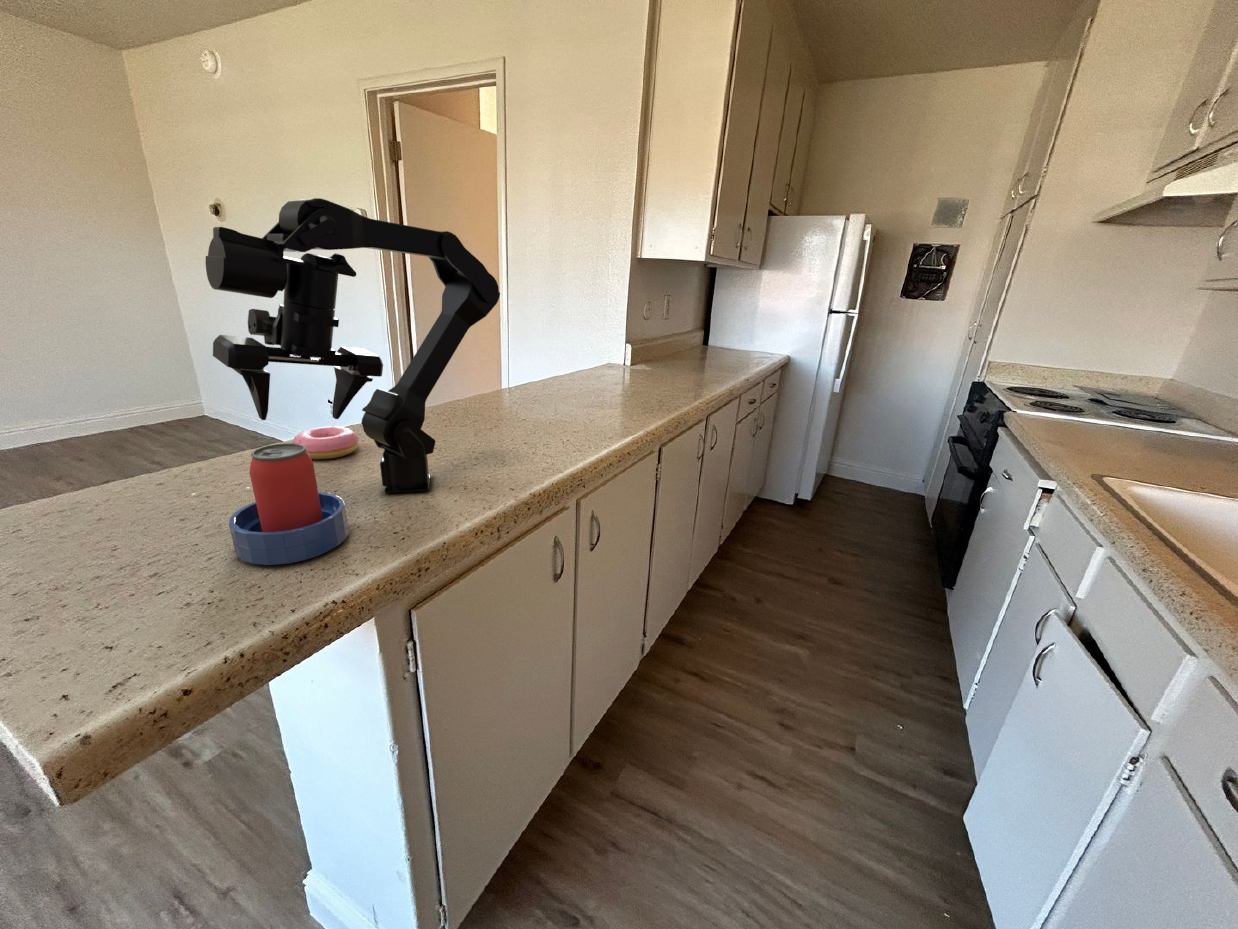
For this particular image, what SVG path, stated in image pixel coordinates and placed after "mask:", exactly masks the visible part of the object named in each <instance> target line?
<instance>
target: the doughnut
mask: <svg viewBox="0 0 1238 929" xmlns="http://www.w3.org/2000/svg"><path fill="white" fill-rule="evenodd" d="M359 442H360V438H359V437H358V434H357V433H356V432H355V430H353V429H350V428H349V427H344V426H343V427H342V426H334V425H332V426H320V427H314V428H309V429H306V430H302V431H301V432H299V433H298V434H297V435H296V436H294V438H293V441H292V443H293V444H300V445H303V446H304V447H306V451H307V453H308V454H309V456H310V457H311V459H312V460H330V459H337V458H340V457H344V456H346V455H347V456H348V455H349V454H351V453H353V452H354V451H355V450H356V449H357V448H358V447H359Z"/></svg>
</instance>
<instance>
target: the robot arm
mask: <svg viewBox="0 0 1238 929" xmlns="http://www.w3.org/2000/svg"><path fill="white" fill-rule="evenodd" d="M352 249H353V250H354V249H370V250H377V251H385V252H392V253H398V254H406V255H414V256H422V257H427V258H428V259H429V260H430V261H431V262H432V265H433V267H434V270H435V273H436V275H437V278H438V280H439V281H440V282H441V283H442V284H443V286H444V289H443V292H442V294H441V311H440V314H439V315H438V317H437V318H436V320H435V322H434V323H433V325H432V327H431V328H430V329H429V332H427V335H426V336H425V337H424V340H423V341H422V343H421V345H420V346H419V348H418V349H417V350H416V352H415V354H414V356H413V357H412V359H411V360H410V362H409V363H408V366H406V368H405V370H404V371H403V373H402V375H401V377H400V378H399V380H398V382H397V383H396V384H395V385H394V386H393V387H391V388H390V389H389V390H385V389H381V388H376V389H375V390H374V392H373V393H372V395H371V398H370V400H369V402H368V403H367V404H366V405H365V406H364V407H363V408H362V409H361V410H362V412H364V413H363V416H362V418H361V426H362V429H363V432H364V433H365V435H366V436H367V437H368V438H369V439H371V440H373V442H374V444H375V445H376V447H377V448H380V449H382V450H383V452H382V458H381V460H380V462H379V466H380V475H381V476H380V477H381V483H382V486H383V487H385V488H384V494H388V495H390V494H405V493H406V494H408V493H421V492H422V493H425V492H428V491H429V489H430V483H431V477H432V476H431V474H430V473H429V461H428V455H430V454H433V453H434V451H435V450H434V449H435V446H436V439H435V438H434V437H432V436H431V435H429V434H428V433H426V432H425V431H424V430H422V427H423V425H424V423H425V420H426V419H425V418H426V402H427V399H428V398H429V396H430V394H431V393H432V391H433V390H434V388H435V386H436V384H438V383H437V382H438V381H439V379H440V378H441V376H442V374H443V372H444V371H445V370H446V367H447V366H448V364H449V362H450V361H451V359H452V357H453V356H454V354H455V353H456V351H457V349H458V348H459V346H460V344H461V342H462V341H463V339H464V337H465V336H466V334H467V332H468V331H469V330H470V328H471V327H473V326H475V325H476V324H477V323H479V322H480V321H481V320H483V319H485V318H486V317H487V316H488V315H489V314H490V312H492V310H493V309H494V308H495V306H496V305H497V304H498V302H499V300H500V296H501V292H500V288H499V284H498V280H496V278H495V276H493V275H492V274H491V273H490V272H489V271H488V269H487V268H486V266H485V265H484V264H483V263H482V262H481V261H480V260H479V259H478V258H477V257H476V256H475V255H473V253H472V252H470V251H469V250H468V249H467V248H466V247H465V246H464V244H463V243H462V242H461V240H460V238H459V237H458V236H457V235H456V234H454V233H453V232H451V231H447V230H445V231H444V230H441V231H440V230H433V229H428V228H423V227H417V226H413V225H412V226H411V225H407V224H401V223H396V222H391V221H385V220H380V219H374V218H369V217H367V216H365V215H362V214H360V213H358V212H356V211H354V210H353V209H352V208H348V207H346V206H343V205H340V204H338V203H336V202H333V201H330V200H327V199H325V198H317V197H316V198H314V197H313V198H304V199H292V200H288V201H287V202H285V203H284V205H283V206H281V208H280V211H279V213H278V222H277V223H276V224H275V225H274V226H273V227H271V229H270V230H269V231H267V233H266V234H264V236H263V237H258V236H254V235H249V234H247V233H246V234H245V233H242V232H239V231H237V230H235V229H232V228H227V227H224V226H214V227H213V228H212V238H211V241H210V242H209V245H208V250H207V255H205V272H206V277H207V281H208V283H209V286H210V287H211V288H212V289H213V290H217V291H223V292H229V293H236V294H243V295H249V296H255V297H262V298H267V299H273V298H275V296H276V295H277V294H278V292H283V303H282V304H278V305H279V306H278V308H277V315H276V316H271V315H270V312H269V310H265V309H257V308H251V309H248V314H247V330H248V333H249V334H250V335H251V336H262V337H263V340H264V344H263V343H261V342H260V341H258V340H256V339H255V338H253V337H248V336H239V335H238V336H237V335H236V336H235V335H225V334H219V335H218V336H217V337H215V339H214V340H213V342H212V357H213V358H215V359H216V360H217V361H219V362H220V363H222V364H223V365H224V366H226V367H227V368H230V369H232V370H233V371H234V372H236V373H237V374H239V375H240V376H242V378H243V380H244V382H245V383H246V386H247V388H248V391H249V393H250V396H251V398H252V401H253V404H254V407H255V410H256V412H257V415H258V417H259V418H258V419H260V420H261V421H266V420H267V417H268V412H269V402H270V401H269V400H270V386H271V373H270V372H269V371H267V370H265V367H267V366H268V365H269V363H279V364H281V363H282V364H295V365H296V364H297V365H310V366H324V367H325V366H326V367H327V366H328V367H333V369H334V375H335V386H334V394H333V401H332V408H331V409H332V410H331V411H332V418H333V419H334V420H339V419H340V418H341V416H342V415H343V413H344V412H345V410H346V409H347V407H348V406H349V404H350V403H351V402H352V400H354V397H355V396H356V395H357V394H358V393H359V392H360V391H361V390H362V388H363V387H364V386H365V385H366V383H369V382H370V383H371V382H373V380H374V378H373V377H378V378H381V377H382V376H383V371H384V370H383V369H384V363H383V360H382V358H381V357H380V356H379V355H377V354H376V353H374V352H371V351H369V350H367V349H365V348H361V347H350V346H349V347H348V346H340V347H339V348H338V350H336V349H334V348H333V337H334V328H339V324H340V319H338V318H336V316H335V315H336V304H337V296H338V282H339V275H343V276H348V277H351V278H355V277H357V272H356V270H355V269H354V268H353V267H352V266H351V265H350V264H349V262H348V260H347V259H346V257H345V255H343V254H340V253H336V252H335V253H333V254H332V255H331V256H328V257H327V256H322V255H318V254H315V253H311V252H308V251H311V250H319V251H336V250H352ZM284 252H288V253H304V254H302V256H301V257H300V258H294V257H289V256H285V255H284ZM266 345H268V346H266ZM277 346H280V347H277ZM291 355H292V356H291Z"/></svg>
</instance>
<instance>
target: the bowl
mask: <svg viewBox="0 0 1238 929" xmlns="http://www.w3.org/2000/svg"><path fill="white" fill-rule="evenodd" d="M318 494H319V500H320V506H321V512H322V518H323V520H322V521H320V522H318V523H315V524H312V525H308V526H305V527H302V528H297V529H292V530H287V531H279V532H262V528H261V523H260V519H259V514H258V510H257V505H256V501H253V502H251V503H248V504H246V505H245V506H243V507H241V508H240V509H238V510H236V511H234V513H233V514H232V515H231V516H230V517H229V518H228V527H229V531H230V532H229V533H230V536H231V539H232V540H231V541H232V544H233V548H234V552H235V555H236V556H237V557H238V558H239V560H241V561H243V562H246V563H249V564H253V565H264V566H265V565H267V566H273V565H285V564H293V563H298V562H302V561H306V560H309V559H313V558H315V557H318V556H320V555H323V554H325V553H327V552H329V551H331V550H333V549H335V548H336V547H338V546H340V545H341V544H342V543H343V542H344V541H345V540H346V539H347V537H348V534H349V532H350V530H349V529H350V528H349V522H348V515H347V509H346V504H345V501H344V499H343V498H341V497H340V496H339V495H337V494H335V493H334V494H333V493H330V492H326V491H325V492H324V491H318Z"/></svg>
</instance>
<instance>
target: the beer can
mask: <svg viewBox="0 0 1238 929" xmlns="http://www.w3.org/2000/svg"><path fill="white" fill-rule="evenodd" d="M250 456H251V457H252V458H251V461H250V465H249V477H250V482H251V487H252V491H253V496H254V500H255V502H256V505H257V510H258V514H259V519H260V523H261V528H262V532H279V531H287V530H292V529H297V528H302V527H305V526H308V525H312V524H315V523H318V522H320V521H322V520H323V518H322V512H321V506H320V500H319V494H318V492H319V489H318V483H317V477H316V472H315V471H316V470H315V465H314V462H313V459H311V457H310V456H309V454H308V453H307V451H306V447H304V446H303V445H300V444H293V442H291V443H290V442H287V443H276V444H275V443H273V444H269V445H265V446H262V447H258V448H256V449H254V450H253V451H252V452H251V454H250Z"/></svg>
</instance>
